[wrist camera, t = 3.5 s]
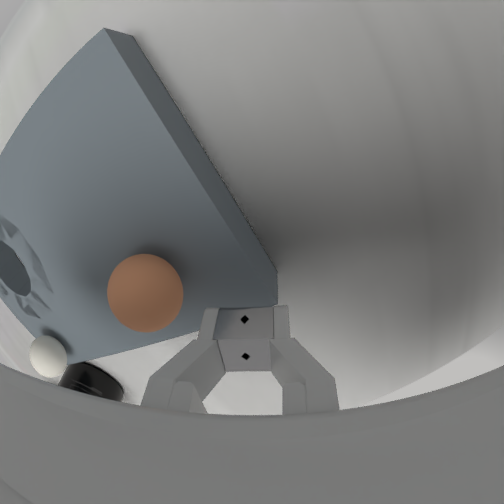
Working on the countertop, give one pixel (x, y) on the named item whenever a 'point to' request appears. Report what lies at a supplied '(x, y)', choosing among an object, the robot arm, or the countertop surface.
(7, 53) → the countertop surface
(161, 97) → the plate
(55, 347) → the cream ball
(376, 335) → the countertop surface
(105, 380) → the supplement bottle
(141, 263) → the terracotta ball
